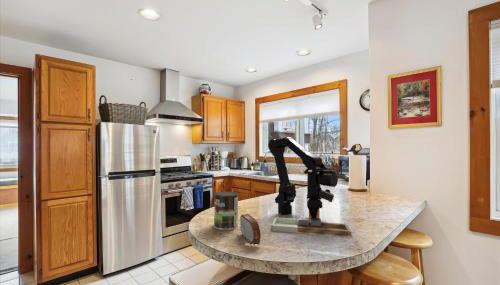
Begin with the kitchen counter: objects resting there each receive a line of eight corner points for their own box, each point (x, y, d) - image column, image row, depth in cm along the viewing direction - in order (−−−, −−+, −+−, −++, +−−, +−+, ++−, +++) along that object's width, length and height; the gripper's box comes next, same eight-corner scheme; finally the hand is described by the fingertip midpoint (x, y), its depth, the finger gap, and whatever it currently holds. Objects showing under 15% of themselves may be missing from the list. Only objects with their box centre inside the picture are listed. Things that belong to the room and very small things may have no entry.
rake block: (308, 224, 104) (308, 206, 104) (308, 221, 108) (308, 204, 109) (319, 225, 103) (319, 207, 103) (318, 222, 107) (318, 204, 108)
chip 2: (310, 230, 94) (310, 220, 94) (310, 227, 98) (310, 217, 98) (321, 231, 93) (320, 221, 94) (320, 228, 97) (320, 218, 97)
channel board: (296, 234, 92) (296, 228, 92) (297, 225, 103) (297, 219, 103) (352, 239, 87) (352, 232, 87) (346, 229, 99) (346, 223, 99)
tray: (271, 232, 94) (271, 225, 94) (274, 223, 105) (274, 217, 105) (297, 234, 92) (297, 227, 92) (298, 225, 103) (298, 218, 103)
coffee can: (224, 232, 94) (225, 196, 94) (209, 226, 101) (209, 193, 101) (243, 226, 101) (243, 193, 102) (227, 221, 108) (227, 190, 109)
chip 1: (298, 229, 95) (298, 219, 95) (298, 226, 99) (298, 216, 99) (308, 230, 94) (308, 220, 95) (308, 227, 98) (308, 217, 98)
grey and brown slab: (261, 247, 80) (261, 221, 80) (252, 248, 79) (252, 222, 79) (246, 232, 94) (246, 211, 94) (238, 233, 93) (238, 211, 93)
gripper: (335, 188, 95) (335, 227, 95) (330, 182, 113) (330, 214, 113) (307, 187, 98) (307, 225, 97) (306, 181, 116) (306, 213, 115)
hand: (313, 219), depth 106 cm, fingers closed on rake block, 4 cm apart
